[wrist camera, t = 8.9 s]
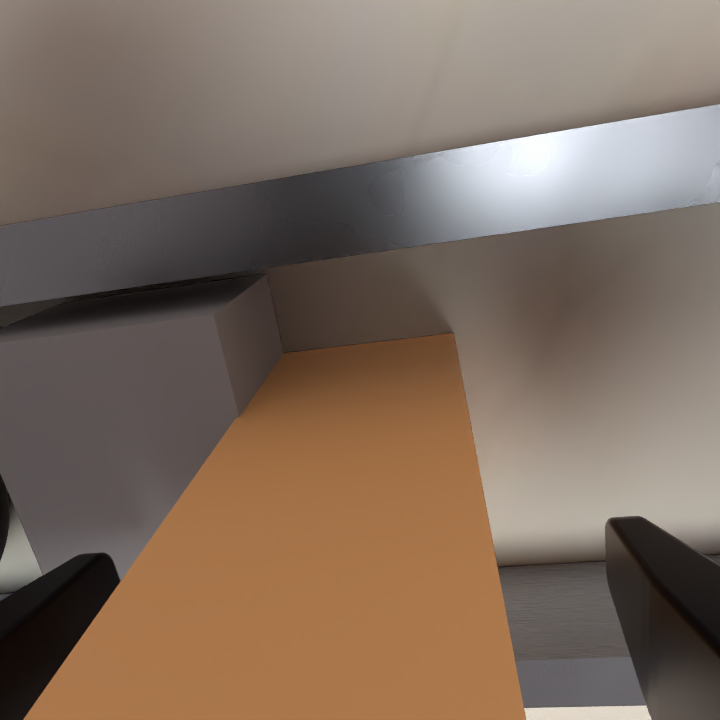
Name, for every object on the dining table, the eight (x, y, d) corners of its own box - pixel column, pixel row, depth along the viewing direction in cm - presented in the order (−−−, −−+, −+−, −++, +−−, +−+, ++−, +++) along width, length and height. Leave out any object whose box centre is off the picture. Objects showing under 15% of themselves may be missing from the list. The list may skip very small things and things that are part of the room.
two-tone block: (444, 248, 10) (671, 1110, 1) (476, 549, 13) (641, 1696, 3) (63, 302, 12) (-1484, 936, 2) (154, 569, 14) (-417, 1451, 4)
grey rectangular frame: (940, 67, 9) (1134, 34, 6) (854, 592, 12) (959, 699, 10) (-99, 243, 11) (-233, 265, 9) (65, 629, 15) (-2, 718, 12)
